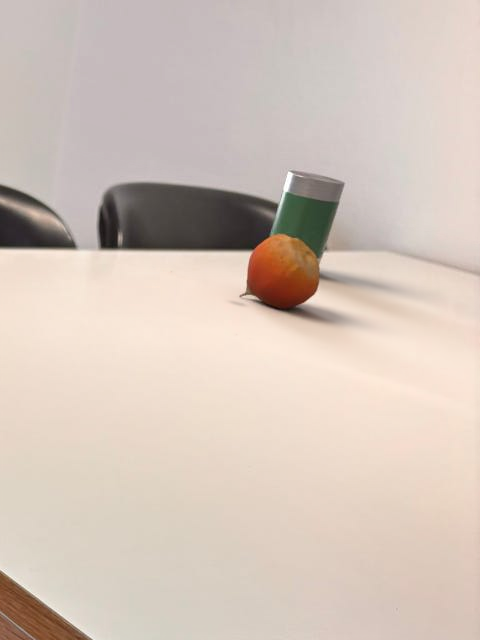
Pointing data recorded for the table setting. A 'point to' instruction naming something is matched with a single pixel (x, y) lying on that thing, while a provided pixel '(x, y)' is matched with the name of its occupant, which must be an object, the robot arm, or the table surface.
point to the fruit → (282, 272)
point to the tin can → (308, 209)
